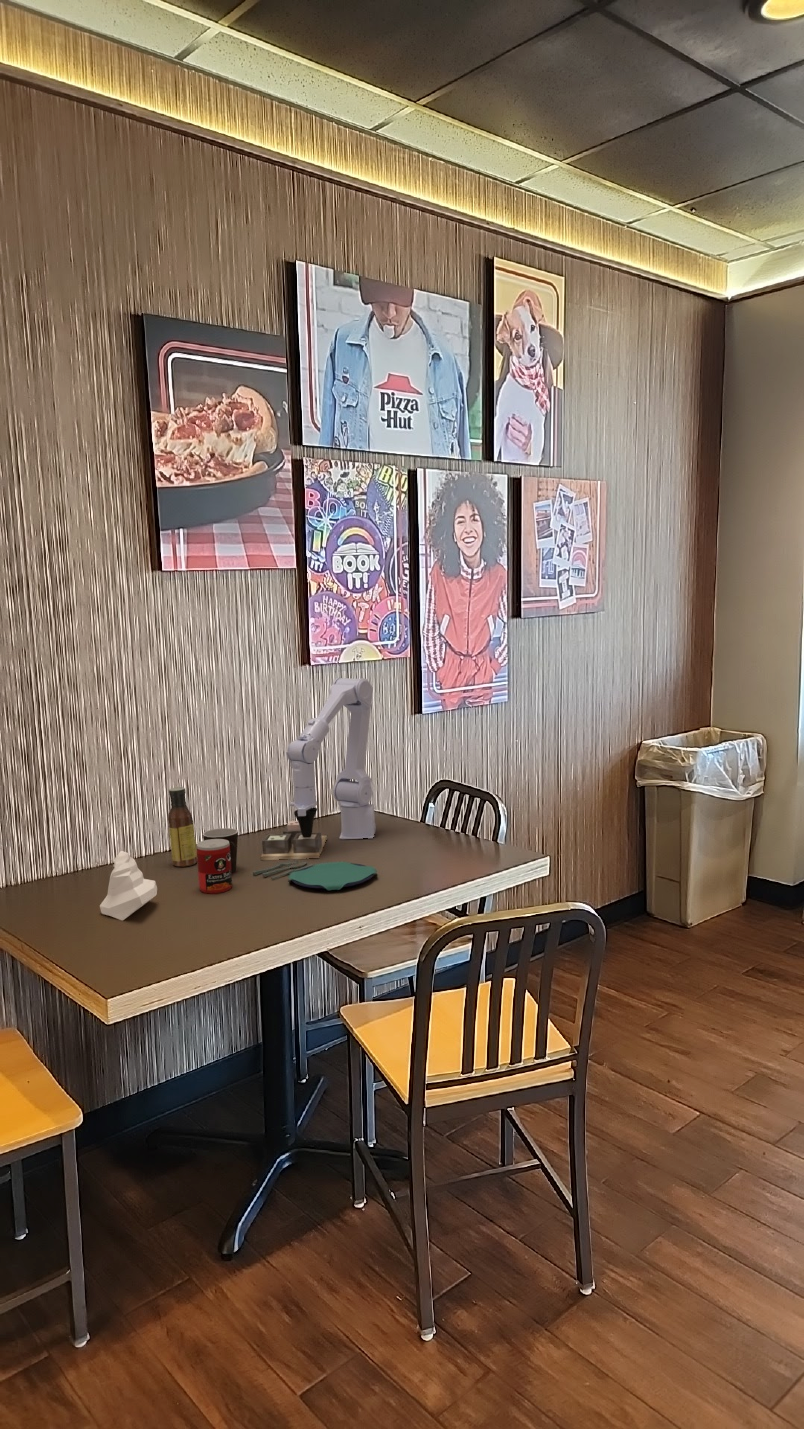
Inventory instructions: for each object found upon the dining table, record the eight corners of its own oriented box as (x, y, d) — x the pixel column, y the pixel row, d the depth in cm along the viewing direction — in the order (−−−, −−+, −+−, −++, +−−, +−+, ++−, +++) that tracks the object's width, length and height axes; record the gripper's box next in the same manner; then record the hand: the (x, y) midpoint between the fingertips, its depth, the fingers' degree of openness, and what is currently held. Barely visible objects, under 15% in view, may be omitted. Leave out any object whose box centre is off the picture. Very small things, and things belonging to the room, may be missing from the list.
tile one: (317, 844, 254) (316, 834, 254) (315, 849, 250) (314, 838, 249) (300, 845, 254) (300, 834, 254) (298, 849, 250) (297, 838, 250)
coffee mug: (205, 868, 242) (203, 829, 241) (240, 865, 244) (237, 826, 242) (204, 882, 231) (202, 841, 229) (241, 878, 232) (238, 838, 231)
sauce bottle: (200, 860, 249) (195, 785, 247) (193, 867, 243) (187, 790, 240) (176, 860, 250) (170, 786, 247) (168, 867, 244) (162, 791, 241)
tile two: (287, 845, 254) (286, 834, 254) (284, 850, 250) (283, 839, 250) (270, 846, 255) (270, 835, 254) (267, 850, 250) (267, 839, 250)
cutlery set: (334, 899, 214) (334, 889, 214) (245, 879, 233) (244, 870, 233) (392, 877, 229) (391, 868, 229) (303, 860, 248) (303, 851, 248)
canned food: (207, 896, 220) (203, 849, 218) (194, 887, 226) (190, 842, 225) (238, 889, 224) (235, 843, 223) (224, 881, 231) (221, 836, 229)
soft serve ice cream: (92, 930, 205) (73, 866, 205) (122, 912, 220) (104, 852, 220) (145, 915, 203) (126, 851, 203) (172, 898, 218) (154, 838, 218)
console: (327, 839, 265) (326, 823, 265) (318, 858, 247) (317, 841, 246) (273, 840, 266) (272, 824, 265) (260, 860, 247) (259, 843, 247)
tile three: (306, 830, 263) (305, 820, 263) (304, 834, 259) (303, 824, 258) (290, 831, 263) (289, 820, 263) (287, 835, 259) (287, 824, 258)
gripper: (293, 780, 257) (295, 830, 259) (284, 792, 243) (287, 844, 245) (319, 779, 257) (322, 829, 259) (312, 791, 243) (315, 843, 244)
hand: (307, 836), depth 252 cm, fingers closed, pressing on tile one
